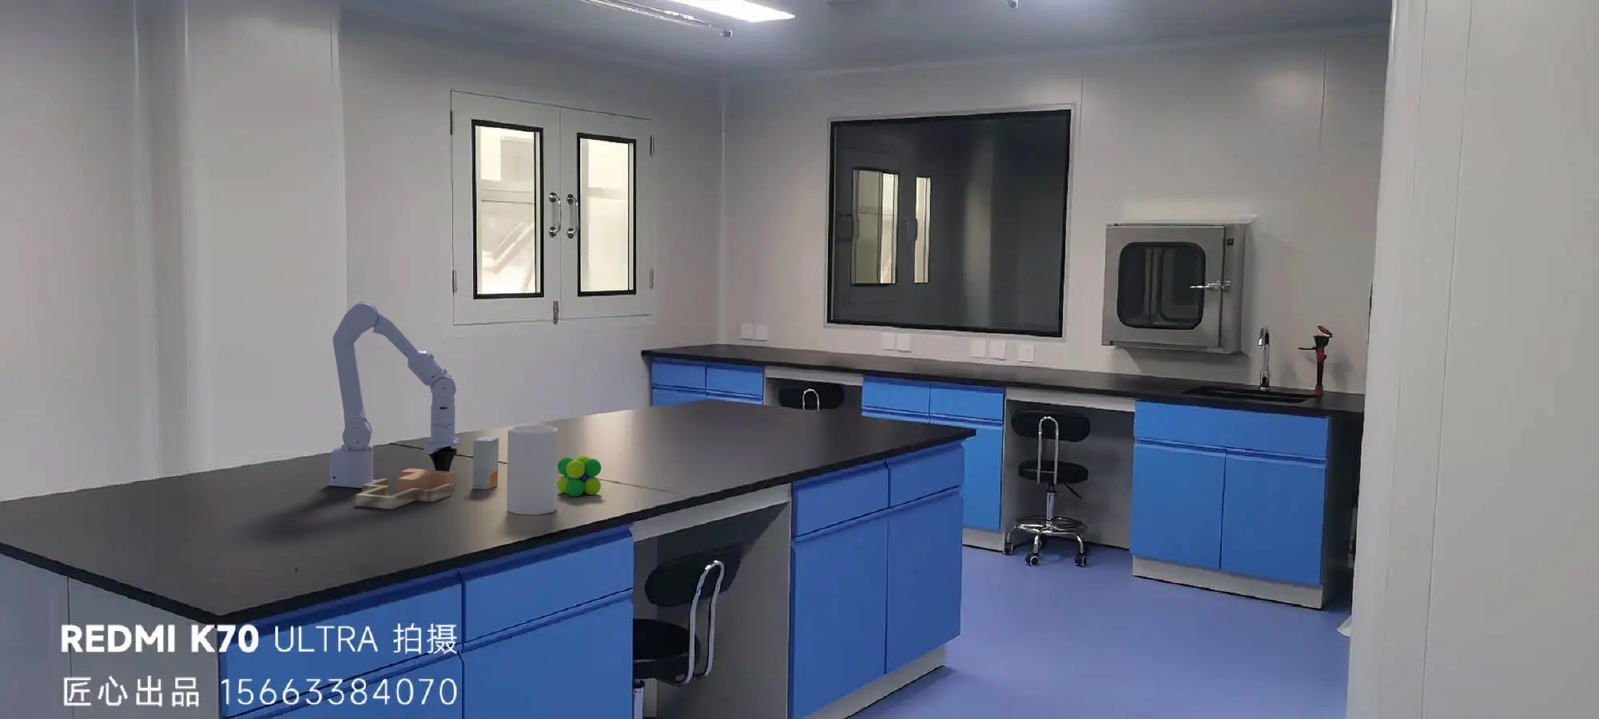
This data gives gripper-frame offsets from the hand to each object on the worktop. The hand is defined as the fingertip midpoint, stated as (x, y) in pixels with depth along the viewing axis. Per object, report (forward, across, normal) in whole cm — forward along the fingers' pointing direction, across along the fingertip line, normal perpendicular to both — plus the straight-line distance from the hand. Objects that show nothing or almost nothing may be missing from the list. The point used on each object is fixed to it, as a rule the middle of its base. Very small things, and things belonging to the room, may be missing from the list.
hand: (442, 477), depth 283 cm
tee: (+1, -11, 0) cm, 11 cm away
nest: (+1, -21, 0) cm, 21 cm away
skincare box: (+1, -1, -12) cm, 12 cm away
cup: (+1, -20, -33) cm, 39 cm away
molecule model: (+1, 0, -36) cm, 36 cm away
